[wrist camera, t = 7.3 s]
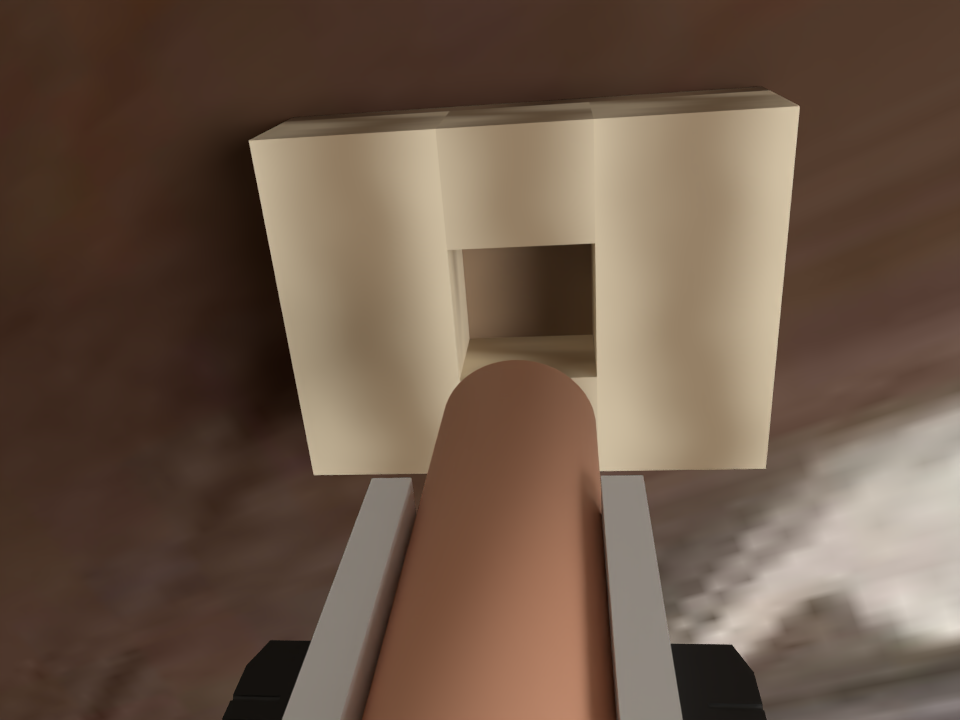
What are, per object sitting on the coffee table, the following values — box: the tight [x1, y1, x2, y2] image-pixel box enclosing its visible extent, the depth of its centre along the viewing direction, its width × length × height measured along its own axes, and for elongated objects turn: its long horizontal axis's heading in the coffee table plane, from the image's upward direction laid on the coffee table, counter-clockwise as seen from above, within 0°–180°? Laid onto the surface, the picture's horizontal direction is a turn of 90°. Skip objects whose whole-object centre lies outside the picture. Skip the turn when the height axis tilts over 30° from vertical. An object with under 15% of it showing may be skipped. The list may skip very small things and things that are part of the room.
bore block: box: [249, 87, 800, 475], centre depth 28 cm, size 16×12×4 cm
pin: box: [362, 360, 616, 720], centre depth 12 cm, size 4×4×15 cm
